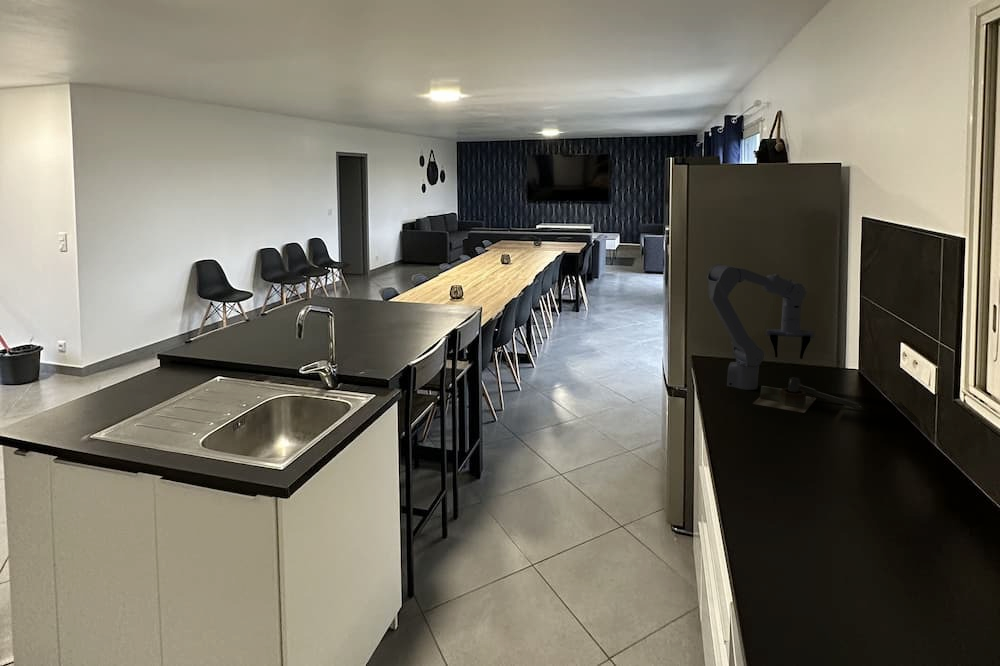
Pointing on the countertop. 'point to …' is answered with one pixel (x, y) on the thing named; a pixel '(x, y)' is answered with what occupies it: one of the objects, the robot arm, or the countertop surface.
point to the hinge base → (778, 405)
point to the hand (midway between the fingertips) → (788, 357)
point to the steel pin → (793, 385)
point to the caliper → (828, 397)
